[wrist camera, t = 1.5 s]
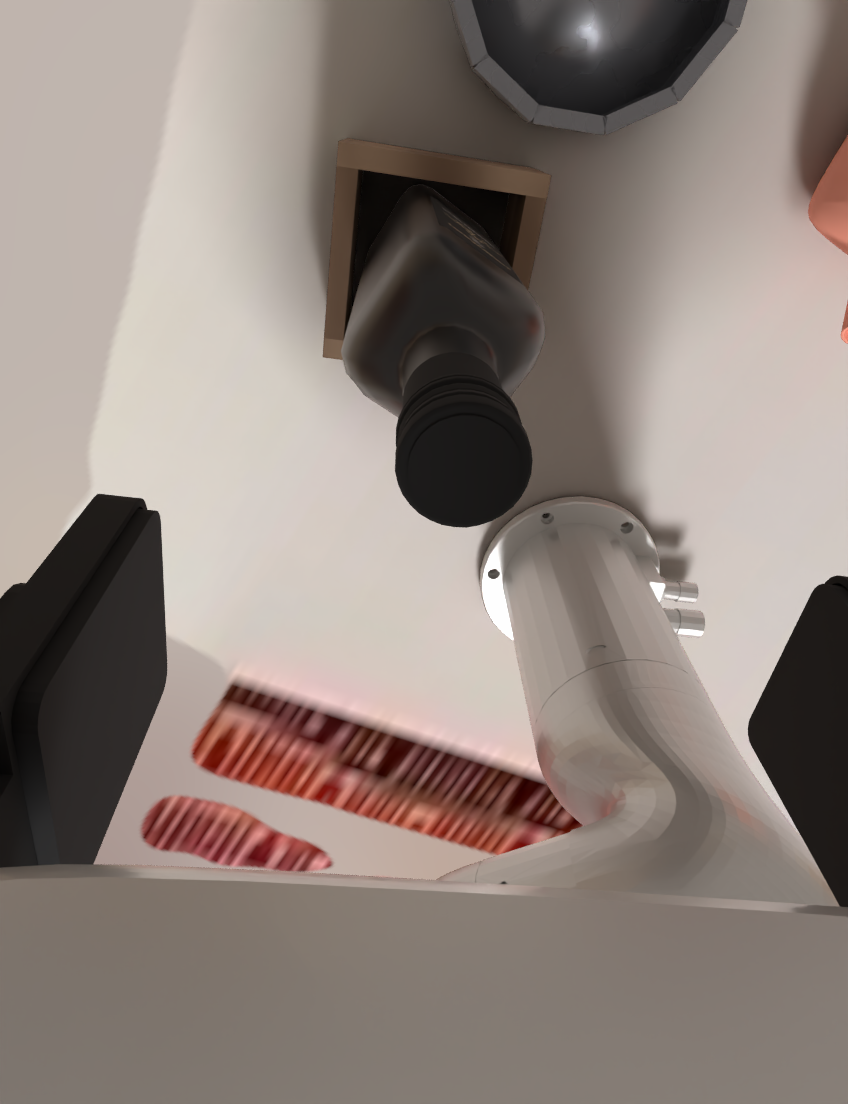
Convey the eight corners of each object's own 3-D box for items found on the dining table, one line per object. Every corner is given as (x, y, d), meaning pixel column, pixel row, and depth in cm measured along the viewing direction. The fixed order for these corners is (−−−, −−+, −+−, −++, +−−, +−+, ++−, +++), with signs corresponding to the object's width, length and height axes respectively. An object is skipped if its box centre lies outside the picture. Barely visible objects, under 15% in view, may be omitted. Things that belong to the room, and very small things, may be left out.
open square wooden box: (532, 167, 40) (551, 175, 35) (497, 351, 45) (509, 381, 40) (347, 137, 39) (338, 141, 34) (332, 328, 44) (322, 357, 39)
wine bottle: (414, 173, 40) (432, 279, 14) (497, 238, 42) (649, 436, 16) (358, 266, 42) (285, 501, 16) (439, 323, 44) (489, 617, 18)
